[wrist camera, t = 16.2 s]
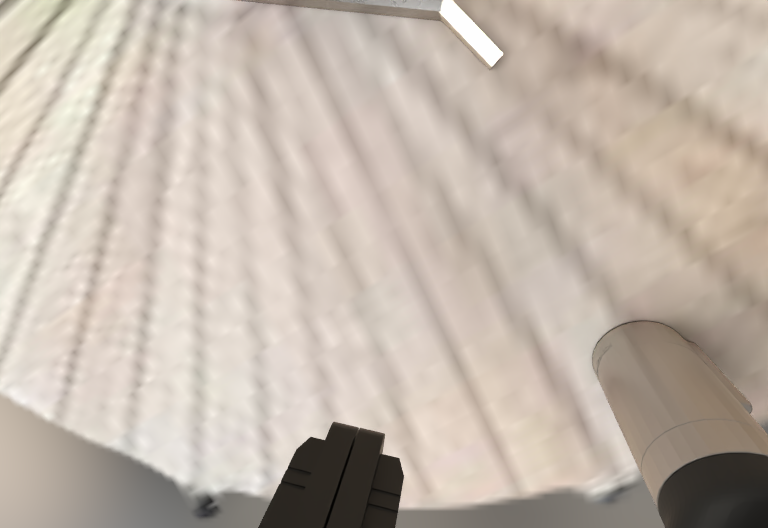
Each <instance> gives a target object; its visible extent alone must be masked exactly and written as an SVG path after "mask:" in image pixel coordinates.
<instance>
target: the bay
mask: <svg viewBox="0 0 768 528" xmlns="http://www.w3.org/2000/svg"><path fill="white" fill-rule="evenodd" d="M238 1H248V2H258V3H268V4H278V5H288V6H298V7H308V8H318V9H328V10H338V11H348V12H358V13H368V14H378V15H388V16H398V17H408V18H418V19H428V20H438V21H442V22H443V23H444V24H445V25H446V26H447V27H448V28H449V29H450V30H451V31H452V32H453V33H454V34H455V35H456V36H457V37H458V38H459V39H460V40H461V41H462V42H463V43H464V44H465V45H466V46H467V47H468V48H469V49H470V50H471V51H472V52H473V53H474V55H475V56H476V57H477V58H478V59H479V60H480V61H481V62H482V63H483V64H484V65H485V66H486V67H487V68H488V69H489V70H490V69H491V68H492V66H493V65H494V64H495V63H496V62H497V61H498V60H499V59H500V57H501V56H502V55H503V53H502V51H501V50H500V49H499V48H498V47H497V46H496V45H495V44H494V43H493V42H492V41H491V40H490V39H489V38H488V37H487V36H486V35H485V34H484V33H483V32H482V31H481V30H480V29H479V28H478V26H477V25H476V24H475V23H474V22H473V21H472V20H471V19H470V18H469V17H468V16H467V15H466V14H465V13H464V12H463V11H462V10H461V9H460V8H459V7H458V6H457V5H456V4H455V2H454V1H453V0H238Z"/></svg>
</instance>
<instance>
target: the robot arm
mask: <svg viewBox="0 0 768 528" xmlns="http://www.w3.org/2000/svg"><path fill="white" fill-rule="evenodd" d="M592 361H593V368H594V371H595V374H596V376H597V378H598V380H599V382H600V385H601V387H602V389H603V391H604V394H605V396H606V398H607V400H608V403H609V405H610V407H611V409H612V411H613V413H614V416H615V418H616V420H617V422H618V424H619V427H620V429H621V431H622V433H623V435H624V437H625V440H626V442H627V444H628V446H629V448H630V450H631V453H632V455H633V457H634V459H635V461H636V464H637V466H638V468H639V470H640V472H641V474H642V477H643V479H644V481H645V483H646V485H647V487H648V489H649V492H650V494H651V496H652V498H653V500H654V503H655V505H656V507H657V509H658V511H659V514H660V516H661V519H662V521H663V523H664V525H665V528H768V434H767V433H766V432H765V431H764V429H763V428H762V427H761V426H760V425H759V424H758V423H757V422H756V420H755V419H754V418H753V417H752V416H751V415H750V413H751V412H752V405H751V404H750V402H749V401H748V400H747V399H746V398H745V397H744V396H743V395H742V394H741V393H740V391H739V390H738V389H737V388H736V387H735V386H734V385H733V384H732V383H731V382H730V381H729V379H728V378H727V377H726V376H725V375H724V374H723V373H722V372H721V371H720V370H719V369H718V367H717V366H716V365H715V364H714V363H713V362H712V361H711V360H710V359H709V358H708V357H707V355H706V354H705V353H704V352H703V351H702V350H701V349H700V348H699V347H698V346H697V345H696V344H695V343H692V342H688V341H685V340H684V339H683V338H682V337H681V336H680V335H679V334H678V332H676V331H675V330H673V329H672V328H670V327H668V326H666V325H663V324H661V323H655V322H647V321H639V322H632V323H628V324H625V325H622V326H619V327H617V328H615V329H613V330H611V331H610V332H609V333H607V334H606V335H605V336H604V337H603V338H602V339H601V340H600V341H599V342H598V344H597V346H596V348H595V350H594V353H593V357H592ZM384 439H385V434H384V433H380V432H376V431H371V430H367V429H363V428H360V429H359V428H358V427H354V426H350V425H346V424H341V423H337V422H333V423H332V425H331V427H330V430H329V432H328V435H327V437H326V439H325V440H321V439H317V438H313V437H310V438H309V439H308V440H307V441H306V442H304V443H303V444H302V445H301V446H300V447H299V448H298V449H297V450H296V452H295V454H294V456H293V458H292V460H291V462H290V464H289V466H288V469H287V470H286V472H285V474H284V476H283V478H282V480H281V484H279V486H278V488H277V490H276V492H275V494H274V496H273V499H272V501H271V503H270V505H269V507H268V509H267V511H266V513H265V515H264V517H263V519H262V521H261V523H260V525H259V527H258V528H395V525H396V519H397V513H398V508H399V502H400V496H401V490H402V485H403V479H404V475H403V471H402V467H401V463H400V459H399V458H396V457H392V456H388V455H383V454H382V452H383V445H384Z"/></svg>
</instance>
